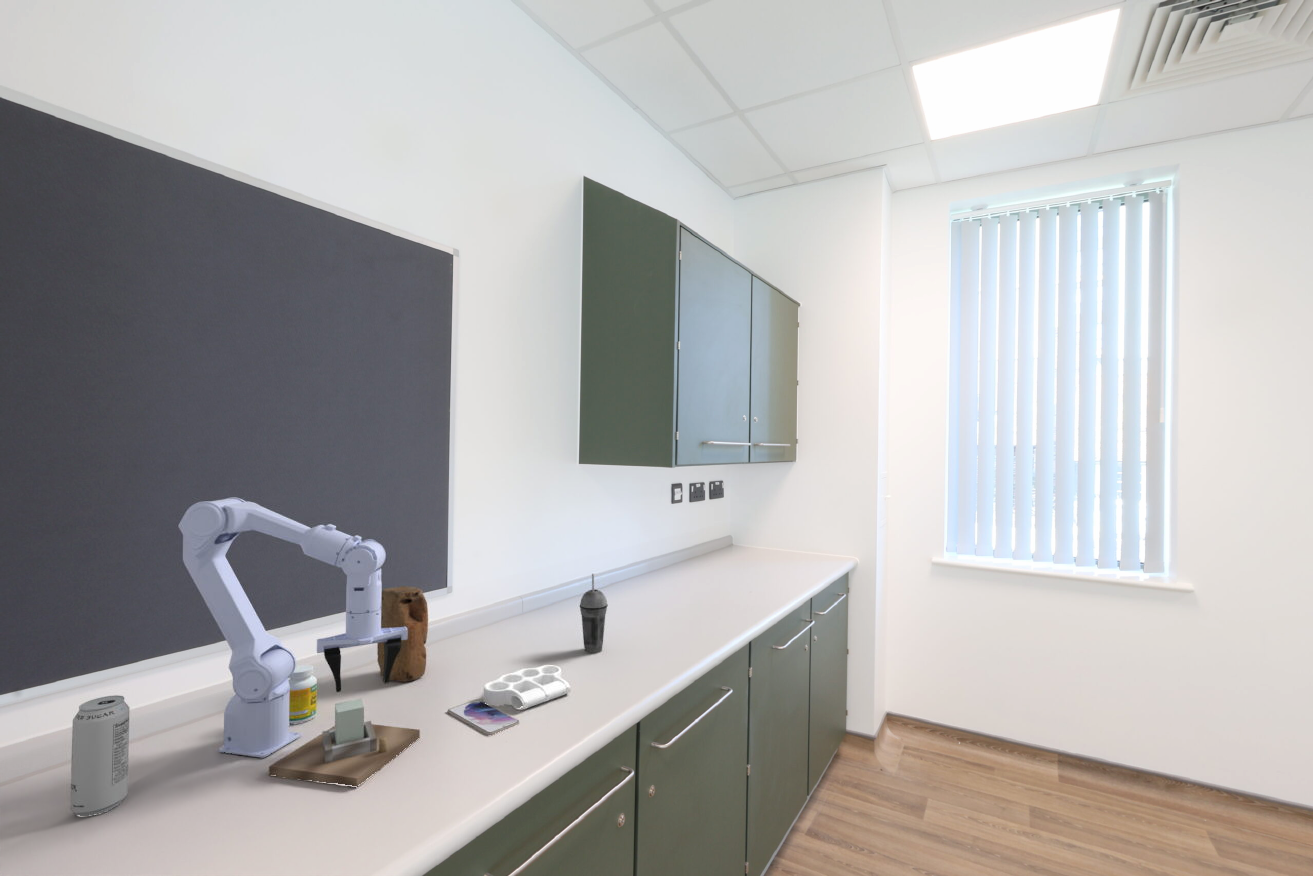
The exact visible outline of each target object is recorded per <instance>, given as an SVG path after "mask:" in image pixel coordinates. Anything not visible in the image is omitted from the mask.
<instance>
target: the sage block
mask: <svg viewBox="0 0 1313 876" xmlns="http://www.w3.org/2000/svg"><path fill="white" fill-rule="evenodd" d="M364 722H365V706H364V702H363V700H362V698H358V699H357V698H356V699H352V700H351V699H350V700H348V701H342V702H338V703H335V704H334V726H335V745H339V744H344V743H348V742H352V741H356V740H360V739H364Z"/></svg>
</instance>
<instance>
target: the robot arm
mask: <svg viewBox="0 0 1313 876" xmlns="http://www.w3.org/2000/svg"><path fill="white" fill-rule="evenodd" d="M177 526H178V529H179V530H180V532H181V534H182V561H183V564H184V566H185V568H186V570H187V572H188V574H189V575H190V577H191V578H192V580H193V582H194V584H195V586H196V588H197V589H198V591H199V593H200V595H201V597H202V599H203V600H204V603H205V604H206V606H207V608H208V610H209V612H210V614H211V615H212V616H213V619H214V620H215V622H216V624H217V626H218V628H219V630H220V632H221V634H222V635H223V636H224V639H225V640H226V643H227V644H228V646H229V648H230V649H231V656H230V660H229V663H228V669H229V672H230V674H231V677H232V689H233V691H234V695H233V696H232V697H231V698H229V701H228V702H227V704H226V706H225V708H224V713H223V746H221V747H220V748H218V752H219V753H224V752H225V754H231V753H232V754H233V755H240V756H246V755H247V757H255V758H261V759H262V758H267V757H268V756H270V755H271V753H272V754H273V753H275V752H277V751H278V750H280V749H281V748H283V747H285V746H286V745H288V744H290V743H292V742H293V741H295V740H296V739H298V738H300V737H301V736H302V734H301V733H300V732H295V731H294V732H293V731H290V724H289V698H290V690H289V689H290V685H289V680H290V678H289V677H290V676H291V675H292V674H293V672H294V670H295V668H296V667H297V660H296V659H297V658H296V656H295V654H294V653H293V652H292V651H291V650H290V649H288V648H287V647H285V646H284V644H283V643H282V642H281V640H280V639H279V638H278V637H276V636H274V635H272V634H271V633H267V631H266V629H265V627H264V625H263V623H262V622H261V620H260V618H259V616H258V614H257V613H256V611H255V609H254V607H253V605H252V603H251V602H250V600H249V597H248V596H247V594H246V592H245V591H244V589H243V587H242V585H241V583H240V581H239V579H238V578H237V576H236V574H235V571H234V570H233V568H232V567H231V565H230V563H229V561H228V559H227V557H226V554H227V553H228V550H229V548H230V547H231V544H232V543H233V541H234V540H235V539H236V538H237V537H238V536H239V535H240V534H241V533H242V532H248V531H256V532H259V533H262V534H265V535H269V536H271V537H275V538H278V539H281V540H284V541H287V542H290V543H293V544H296V545H300V547H301V550H302V552H303V554H304V555H306V556H308V557H311V558H312V559H316V560H318V561H321V562H324V563H326V564H328V565H329V564H330V565H332V566H333V567H334V566H335V567H337V568H341V569H342V572H343V573H344V574H345V575H346V587H345V588H346V590H345V591H346V593H345V594H346V595H345V598H346V599H345V604H346V605H345V632H344V633H340V634H336V635H333V636H328V637H323V638H318V639H316V654H322V653H323V655H324V659H325V661H326V663H327V665H328V666H329V668H330V670H331V673H332V676H333V679H334V682H335V691H336V693H340V692H342V679H341V678H342V677H341V665H342V664H341V663H342V654H341V649H346V648H347V649H348V648H353V647H354V648H355V647H361V646H366V645H374V644H377V643H380V642H384V671H383V677H382V679H383V682H384V684H389V683H390V680H389V678H390V674H391V670H392V667H393V664H394V661H395V659H396V657H397V655H398V653H399V651H400V649H401V646H402V643H401V640H407V631H408V629H407V628H406V627H397V628H381V596H382V590H383V588H382V587H383V586H382V568H381V567H382V566H383V564H384V563H385V561H386V558H387V557H386V556H387V553H386V550H385V547H384V546H383V545H382V544H381V543H380V542H377V541H376V540H374V539H372V538H370V539H365V540H362V538H363V537H362V536H360V535H357V534H356V535H354V536H352V535H350V534H347V533H344V532H343V531H339V530H337V526H336V525H334V524H331V523H329V524H326V525H324V524H320V525H316V526H313V527H312V528H311V527H309V526H307V525H305V524H303V523H301V522H298V521H296V520H294V519H291V518H289V517H286V516H284V515H282V514H280V513H277V512H275V511H273V510H271V509H268V508H266V507H264V506H261V505H260V504H258V503H256V502H253V501H248V500H247V501H246V500H244V499H242V498H240V497H234V496H232V497H226V498H224V499H217V500H212V501H211V500H210V501H208V500H207V501H204V500H203V501H199V502H196V503H194V504H192V505H191V506H190V507H189V508H187V510H186V512H185V513H184V515H183V516H182V518H181V520H180V522H179V524H178V525H177Z"/></svg>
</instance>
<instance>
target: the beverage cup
mask: <svg viewBox="0 0 1313 876" xmlns="http://www.w3.org/2000/svg"><path fill="white" fill-rule="evenodd" d="M607 601H608V600H607V597H606V595H605V594H604V593H603V592H602V591H601V590H599V589H595V573H591V589H590V590H587V591H586V592H584V593H583V595H582V596H581V599H580V602H579V603H580V604H579V608H580V609H579V610H580V615H581V625H582V639H583V648H584V652H585V653H587V654H598V653H599V654H600V653H601V652H603V644H604V636H605V635H604V634H605V624H606V623H605V622H606V615H607V609H608V602H607Z"/></svg>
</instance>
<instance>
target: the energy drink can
mask: <svg viewBox="0 0 1313 876" xmlns="http://www.w3.org/2000/svg"><path fill="white" fill-rule="evenodd" d="M78 709H79V710H78V711H77V713H76V715H75V716H74V718H72V725H71V726H72V728H71V730H72V731H71V733H72V734H71V764H70V765H71V766H70V767H71V771H70V772H71V773H70V802H69V803H70V811H71V812H72V813H75V815H76V814H77V815H80V816H89V815H94V814H99V813H102V814H104V813H103V812H105V811H107V810H110V809H112V808H113V807H115V806H117V805H118V804H119V803H120V802H121V801H122V802H123V799H124V798H126V797H127V794H128V793H129V791H128V790H129V788H128V787H129V785H128V784H129V752H130V751H129V749H130V747H129V746H130V740H129V739H130V710H131V709H130V706H129V705H128V704H127V703H126V702H125V696H123V695H117V694H116V695H107V696H101V697H96V698H94V699H90V700H88V701H85V702H84V703H81V704H80V705H79V706H78ZM122 802H121V803H122ZM121 803H120V804H121ZM118 806H119V805H118ZM118 806H117V807H118ZM115 808H116V807H115ZM112 810H113V809H112ZM110 811H111V810H110ZM107 812H108V811H107ZM105 813H106V812H105ZM99 815H100V814H99Z"/></svg>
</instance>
